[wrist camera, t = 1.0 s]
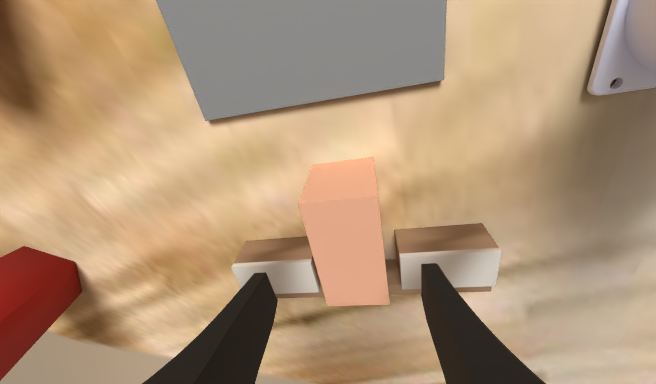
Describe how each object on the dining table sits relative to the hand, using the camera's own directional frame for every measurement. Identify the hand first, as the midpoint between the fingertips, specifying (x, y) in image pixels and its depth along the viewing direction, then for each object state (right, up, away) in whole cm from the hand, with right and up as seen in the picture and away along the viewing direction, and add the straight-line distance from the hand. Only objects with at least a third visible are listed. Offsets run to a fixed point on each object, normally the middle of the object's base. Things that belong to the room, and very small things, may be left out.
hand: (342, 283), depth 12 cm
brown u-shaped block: (+2, -1, +9) cm, 9 cm away
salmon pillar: (+1, +3, +7) cm, 8 cm away
